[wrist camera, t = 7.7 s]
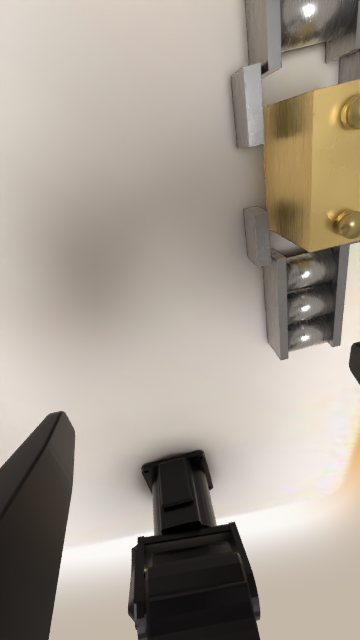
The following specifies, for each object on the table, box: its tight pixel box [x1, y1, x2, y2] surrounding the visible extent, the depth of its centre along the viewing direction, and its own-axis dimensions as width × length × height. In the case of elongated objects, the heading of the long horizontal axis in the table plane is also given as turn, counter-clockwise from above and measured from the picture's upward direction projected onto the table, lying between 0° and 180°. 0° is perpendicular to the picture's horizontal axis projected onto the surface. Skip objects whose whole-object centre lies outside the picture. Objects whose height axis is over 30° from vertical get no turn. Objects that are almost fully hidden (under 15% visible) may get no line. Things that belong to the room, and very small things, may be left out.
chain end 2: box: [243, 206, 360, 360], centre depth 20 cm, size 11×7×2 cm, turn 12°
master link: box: [263, 79, 360, 252], centre depth 15 cm, size 6×4×6 cm, turn 12°
